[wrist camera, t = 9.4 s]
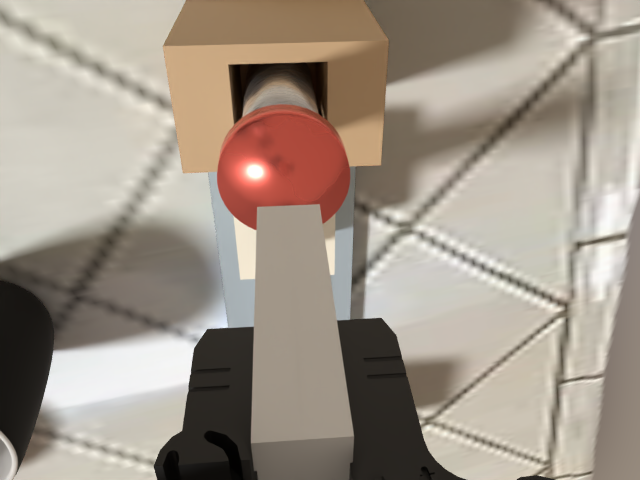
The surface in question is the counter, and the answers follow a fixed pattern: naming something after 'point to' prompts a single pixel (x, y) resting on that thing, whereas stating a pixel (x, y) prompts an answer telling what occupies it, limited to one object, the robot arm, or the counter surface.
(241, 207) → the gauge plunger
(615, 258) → the counter surface
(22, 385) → the mug
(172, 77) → the rail
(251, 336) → the robot arm
